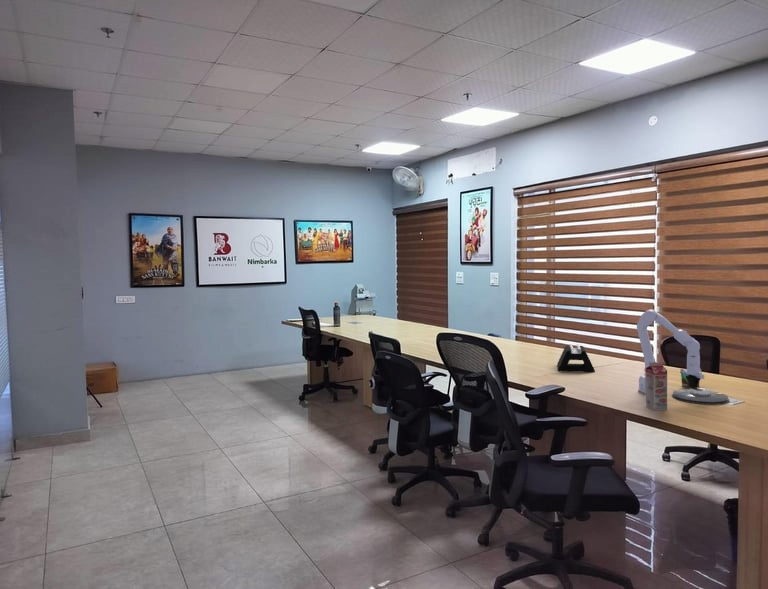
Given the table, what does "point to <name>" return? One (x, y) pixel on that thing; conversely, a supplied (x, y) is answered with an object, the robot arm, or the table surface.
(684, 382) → the food container
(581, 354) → the device stand
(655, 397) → the juice carton
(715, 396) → the turntable
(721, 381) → the table surface
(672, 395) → the turntable base
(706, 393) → the cover
